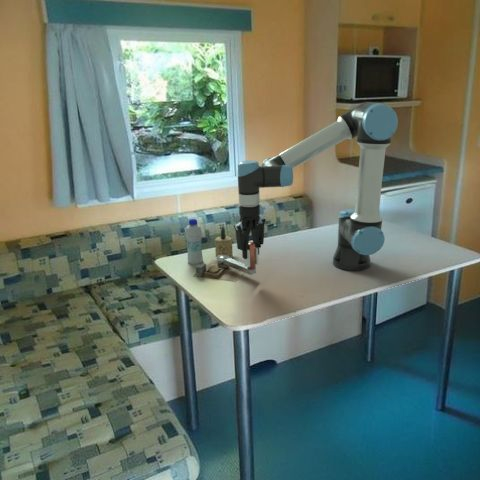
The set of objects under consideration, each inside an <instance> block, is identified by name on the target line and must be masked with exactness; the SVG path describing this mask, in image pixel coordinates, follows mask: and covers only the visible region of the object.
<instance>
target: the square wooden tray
mask: <svg viewBox="0 0 480 480" xmlns="http://www.w3.org/2000/svg"><path fill="white" fill-rule="evenodd" d="M212 264H215V265H217V266H218V268H219V271H218V273H210V272H209V266H210V265H212ZM195 272H196V273H195V274H194V275H192V277H194V278H202V279H208V280H210V279H211V280H217V281H226V282H232V283H233V282H234V283H237V282H238V280H239V279H240V278H241V277H242V276H243V275H244V274H245V273H244V272H242V271H240V270H237V269H235V268H232V267H230V266H227V265H225V264H219V263H217V259H213V258H212V259H211V260H210V261H209V262H207V263H202V262H201V263H199V264H197V265H196V266H195Z"/></svg>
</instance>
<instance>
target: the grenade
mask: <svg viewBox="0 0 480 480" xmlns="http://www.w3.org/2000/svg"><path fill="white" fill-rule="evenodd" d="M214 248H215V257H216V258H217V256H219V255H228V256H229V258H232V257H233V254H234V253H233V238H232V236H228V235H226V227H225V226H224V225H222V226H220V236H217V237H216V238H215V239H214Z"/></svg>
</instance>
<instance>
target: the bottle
mask: <svg viewBox="0 0 480 480" xmlns="http://www.w3.org/2000/svg"><path fill="white" fill-rule="evenodd" d="M202 234H203V233H202V228H201V225H199V224H198V220H197V219H196V218H190V219H189V220H188V225H187V226H186V227H185V239H186V244H187V248H186V249H187V263H189V264H191V265H199V264H200V263H202V262H203V260H204V256H203V249H202V238H203V237H202V236H203V235H202Z"/></svg>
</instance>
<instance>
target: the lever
mask: <svg viewBox="0 0 480 480" xmlns="http://www.w3.org/2000/svg"><path fill="white" fill-rule="evenodd" d="M248 250H250V267H247V266H244V262H241V261H239V260H237V259H233V258H232V257H230V258H229V256H228V255H219V256H217V257H216V260H217V263H219V264H225V265H227V266H230V267H232V268H235V269H237V270H240V271H242V272H244V274H247V275H249V276H252V275H255V274H257V264H256V260H255V243H254V242H253V241H249V243H248Z"/></svg>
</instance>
